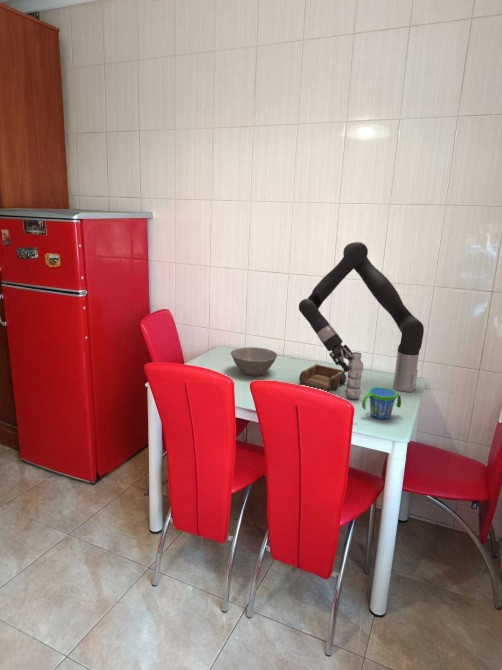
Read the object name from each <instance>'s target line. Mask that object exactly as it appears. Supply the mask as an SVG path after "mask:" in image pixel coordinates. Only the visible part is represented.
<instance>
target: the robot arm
mask: <svg viewBox="0 0 502 670" xmlns="http://www.w3.org/2000/svg"><path fill="white" fill-rule="evenodd" d="M368 253H369V250H368V247H367V245H366V244H364V243H363V242H360V241H356V242H351V243H347V245H346V246H344V249H343V252H342V254H343V257H342V259H341V260H340V261H339V262H338V263H337V264H336V266H334V267H333V268H332V269H331V270H330V271H329V272H328V273H327V274H325V276H323V278H322V279H321V280H320V281H319V282H318V283H317V284H316V285H315V287H314V288H313V289H312V292H311V294H310V295H309V296H308V297H307V298H303V299H302V300H301V301H300V302H299V304H298V310H299V312H300V313H301V315H302V316H303V317H304V318H305V320H306V321H307V322H308V323H309V325H310V327H311V328H312V330H313V331H314V332H315V334H316V335H317V337H318V339H319V340H320V342H321V343H322V345H323V346H324V347H325V348H326V349H325V350H327V351H328V352H329V356H330V358H331V359H332V361H333V362H334V364H335V365H336V366H340V367H341V368H342V370H344V371H345V373H348V371H349V370H350V369H349V367H348V363H346V362H345V360H344V359H346V360H347V361H348V362H349V361H350V360H351V359H352V353H353V352H352V350H351V349H350V348H349V346H348V345H347V344H344V345H342V343H343V342H344V341H343V339H342V337H340V335H339V334H338V332H337V331H336V330H335V328H334V327H333V326H331V324H330V323H329V322H328V320H327V319H326V317H325V316H324V315H323V314H322V312H321V311H320V310H319V309H320V307H321V306H322V304H323V303H324V301H325V300H326V299H327V298H329V296H330V295H331V294H332V293H333V292H334V291H335V289H336V288H337V287H338V286H339V285H340V283H341V282H342V281H343V280H344V279H345V278H346V277H347V275H349V274H350V273H351V272H352V271H353V270H354V271H355V272H356V273H357V274H358V275H359V277H360V278H361V279H362V281H363V283H364V284H365V285H366V287H367V290H369V292H370V294H372V296H373V297H374V298H375V300H376V301H377V302H378V303H379V304H380V306H381V307H382V308H383V309H384V310H385V311H386V312H387V314H389V315H390V316H391V317H392V319H393V321H394V323H395V324H396V326H397V328H398V329H399V332H400V333H401V338H400V343H399V345H398V346H397V352H396V353H397V355H396V361H395V368H394V369H395V370H394V376H393V377H394V378H393V387H392V388H393V389H395V390H397V391H400V392H407V393H413V392H414V391H415V389H416V386H417V379H418V373H419V372H418V371H419V369H418V361H419V355H420V351H421V349H422V346H423V345H422V344H423V340H424V339H423V338H424V334H425V327H424V325H423V323H422V321H420V320H419V319H418V318H417V317H416V316H414V315H413V314H412V313H411V311H410V310H409V309H408V308H407V306H406V305H405V304H404V303H403V300H402V298H401V296H400V294H399V293H398V291H397V289H396V288H395V286H394V285H393V284H392V283H391V281H390V279H388V277H386V276H385V275H384V274H383V273H382V272H381V271H380V270H379V269H378V268H377V267H375V266H374V265H373V263H372V262H371V261H370V259H369V257H368V255H369V254H368Z"/></svg>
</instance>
